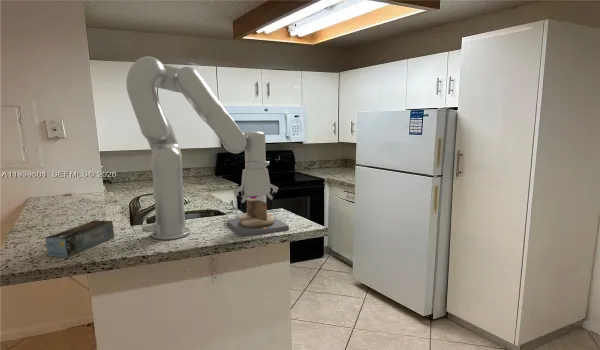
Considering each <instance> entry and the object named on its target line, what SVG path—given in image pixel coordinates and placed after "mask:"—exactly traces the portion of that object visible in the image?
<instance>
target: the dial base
mask: <svg viewBox="0 0 600 350" xmlns="http://www.w3.org/2000/svg"><path fill="white" fill-rule="evenodd" d="M226 224H227V226H229V227H230V228H231V229H232V230H233V231H234V232H235V233H236V234H238V236H240V237H241V238H243V237H249V236H255V235H262V234H269V233H276V232H282V231H289V230H290V226H289V224H287V223H285V222H283V221H282V220H280V219H278V218H277V217H275V216H274V223H273V224H271V225H268V226H263V227H247V226H242V225H240V223H239V218H235V219H233V218H232V219H227V220H226Z"/></svg>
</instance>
